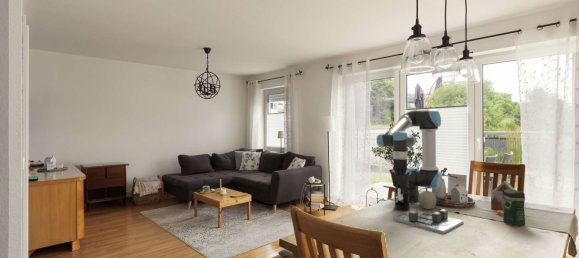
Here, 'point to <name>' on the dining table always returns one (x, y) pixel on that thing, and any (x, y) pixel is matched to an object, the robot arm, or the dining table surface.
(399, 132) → the robot arm
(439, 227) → the panel
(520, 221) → the coffee jar
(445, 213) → the breaker back
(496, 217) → the dining table surface
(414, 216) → the orange and grey switch
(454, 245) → the dining table surface
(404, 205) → the french press
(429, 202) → the fruit
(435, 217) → the breaker middle
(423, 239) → the dining table surface
